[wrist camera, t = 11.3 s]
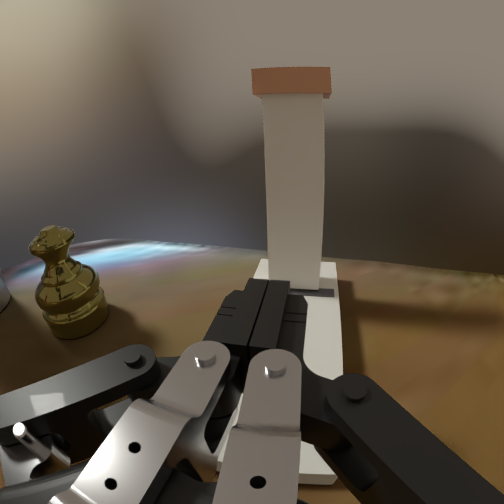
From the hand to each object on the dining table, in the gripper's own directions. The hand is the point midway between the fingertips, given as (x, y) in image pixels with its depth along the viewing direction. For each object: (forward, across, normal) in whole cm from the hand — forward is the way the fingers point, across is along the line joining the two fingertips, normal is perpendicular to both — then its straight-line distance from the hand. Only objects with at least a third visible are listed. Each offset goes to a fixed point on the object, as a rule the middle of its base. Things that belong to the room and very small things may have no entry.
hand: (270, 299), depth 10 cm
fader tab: (+13, 0, +7) cm, 15 cm away
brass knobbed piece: (+6, +21, +10) cm, 24 cm away
